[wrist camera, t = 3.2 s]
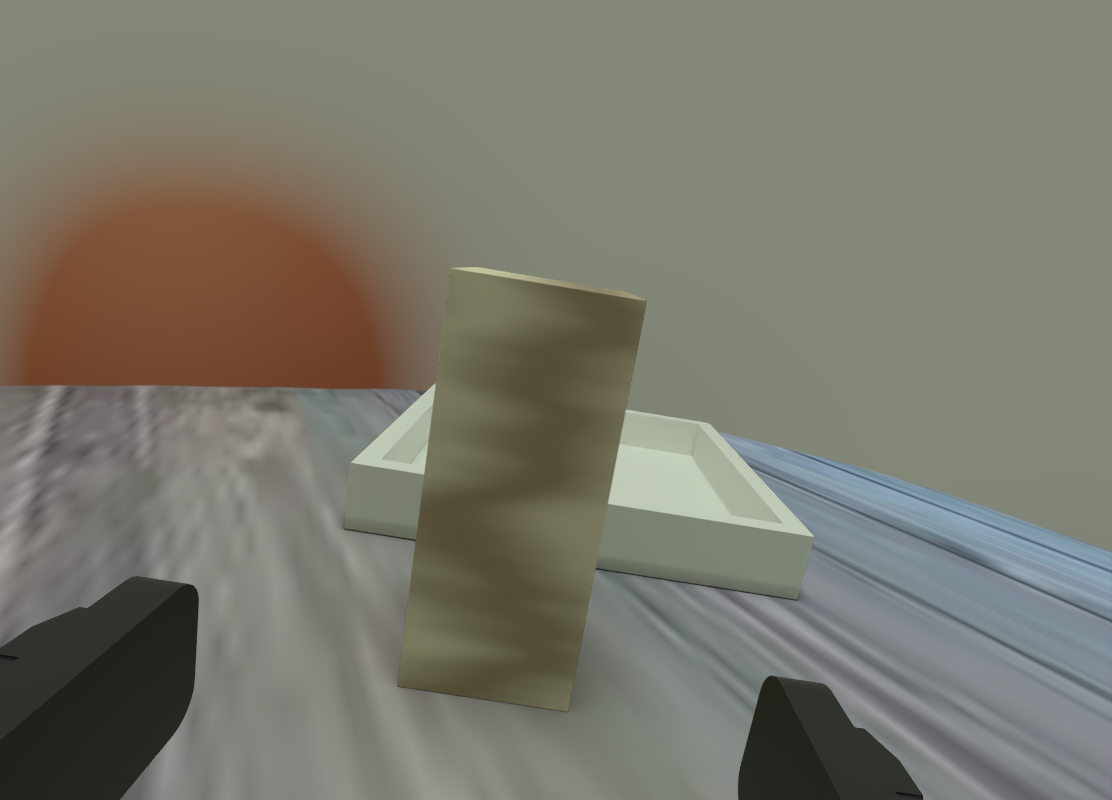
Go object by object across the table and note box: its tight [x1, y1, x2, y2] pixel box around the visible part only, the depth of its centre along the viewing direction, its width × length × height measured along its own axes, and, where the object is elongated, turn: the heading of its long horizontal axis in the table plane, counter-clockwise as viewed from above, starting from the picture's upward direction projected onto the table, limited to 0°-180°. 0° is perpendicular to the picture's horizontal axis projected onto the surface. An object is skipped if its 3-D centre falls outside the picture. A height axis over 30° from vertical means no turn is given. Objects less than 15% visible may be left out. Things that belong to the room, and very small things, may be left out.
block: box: [397, 267, 647, 712], centre depth 20 cm, size 5×5×12 cm
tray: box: [344, 383, 814, 600], centre depth 37 cm, size 20×20×3 cm
